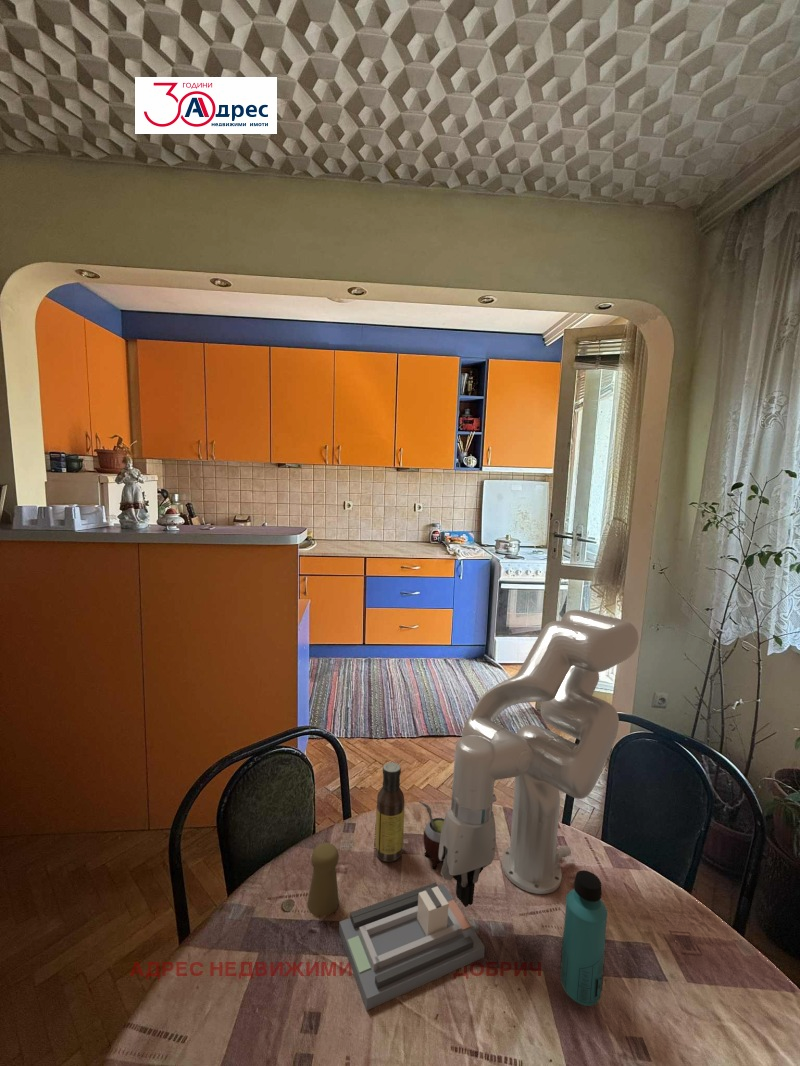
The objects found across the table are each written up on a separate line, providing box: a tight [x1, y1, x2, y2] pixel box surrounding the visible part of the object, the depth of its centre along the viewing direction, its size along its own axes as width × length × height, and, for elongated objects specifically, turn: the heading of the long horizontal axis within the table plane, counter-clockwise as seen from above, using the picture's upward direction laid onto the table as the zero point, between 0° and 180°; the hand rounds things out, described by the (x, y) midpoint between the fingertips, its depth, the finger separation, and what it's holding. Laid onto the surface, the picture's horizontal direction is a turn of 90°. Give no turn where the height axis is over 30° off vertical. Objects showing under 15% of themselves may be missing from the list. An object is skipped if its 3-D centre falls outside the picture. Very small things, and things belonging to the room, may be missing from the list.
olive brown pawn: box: [306, 842, 340, 918], centre depth 89 cm, size 6×6×11 cm
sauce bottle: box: [375, 761, 405, 863], centre depth 102 cm, size 6×6×20 cm
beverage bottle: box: [559, 869, 608, 1007], centre depth 74 cm, size 6×7×20 cm
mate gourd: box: [418, 800, 445, 871], centre depth 101 cm, size 8×8×15 cm
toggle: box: [417, 885, 449, 936], centre depth 83 cm, size 4×4×5 cm
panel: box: [338, 882, 486, 1011], centre depth 82 cm, size 22×14×3 cm, turn 115°
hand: (464, 899), depth 86 cm, fingers closed
